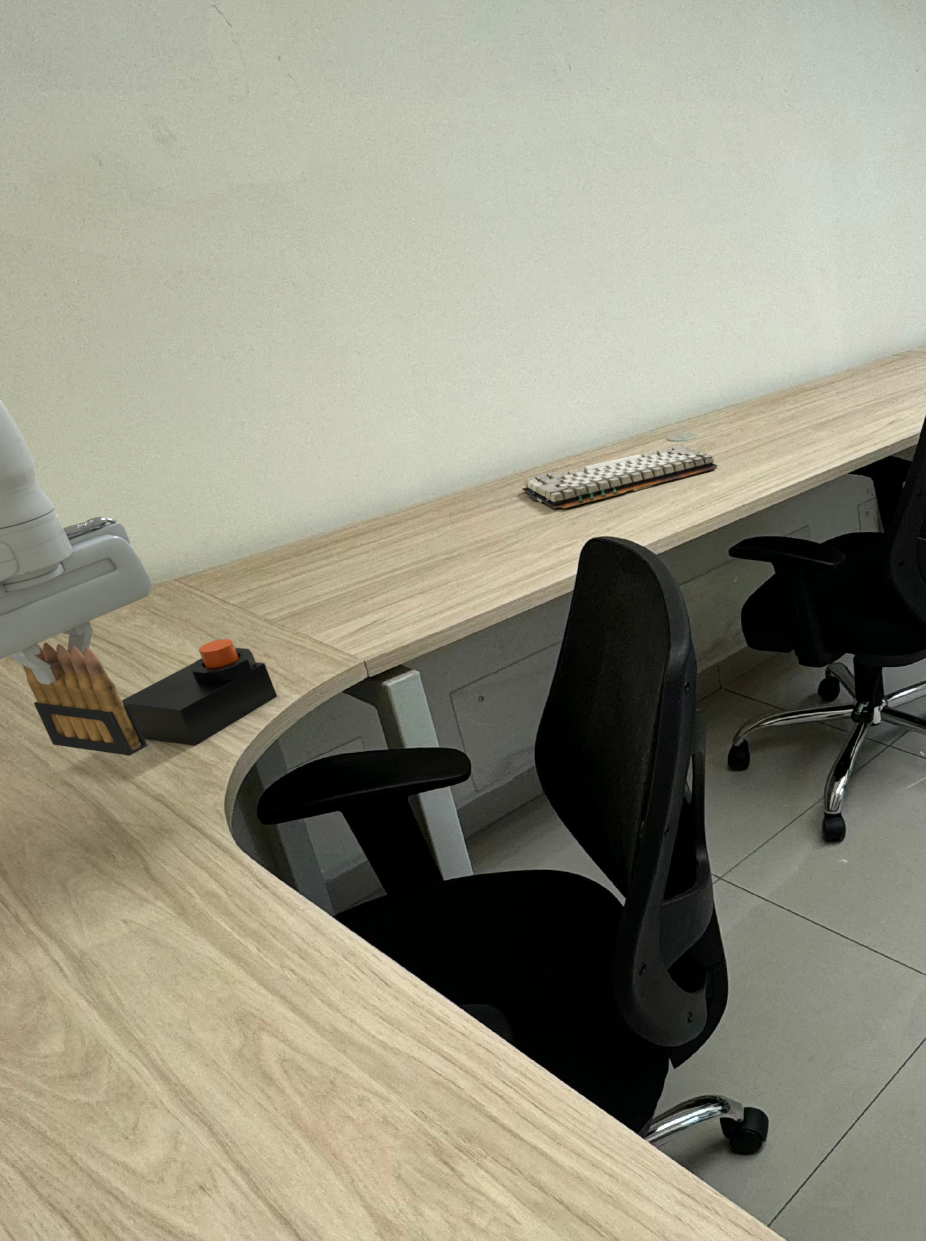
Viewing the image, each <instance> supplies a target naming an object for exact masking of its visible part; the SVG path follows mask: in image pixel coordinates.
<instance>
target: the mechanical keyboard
mask: <svg viewBox="0 0 926 1241" xmlns="http://www.w3.org/2000/svg"><path fill="white" fill-rule="evenodd" d="M714 462H715V460H714V458H713V455H712V454H709V453H707V452H705V451H703V452H702V451H699V450H697V451H696V450H695V449H691V447H689V446H685V445H684V444H679V445H676V446H672V447H671V449H670V448H669V447H666V448H663V449H658V450H657V451H656V452H655V451H650V452H645V453H642V454H641V455H640V454H635V455H630V456H625V457H620V458H615V459H611V460H607V461H602V462H598V463H594V464H590V465H586V466H584V469H582V468H581V467H579V468H574V469H570V470H567V473H566V472H565V471H561V472H558V473H556V472H555V471H554V470H553V471H552V470H551V471H549V472H546V475H544V474H543V473H540V474H537V475H535V476H534V477H533V476H527V477H524V480H523V485H525V487H523V488H521V491H524V492H526V494H527V495H528V497H529V498H530V499H531V500H532V499H533V500H534V502H539V503H540V504H542V502H543V503H545V504H546V505H547V506H549V507H551V508H553V509H556V508H562V509H567V508H571V507H574V506H579V505H582V504H587V503H590V502H595V501H599V500H602V499H606V498H610V497H615V496H619V495H621V494H625V493H627V492H630V491H634V492H636V491H640V490H643V489H647V488H651V487H652V486H655V485H659V484H662V483H666V482H669V481H675V480H677V479H683V478H686V477H689V476H693V475H698V474H701V473H705V472H710V471H713V470H715V469H716V467H718V464H715V463H714Z"/></svg>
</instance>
